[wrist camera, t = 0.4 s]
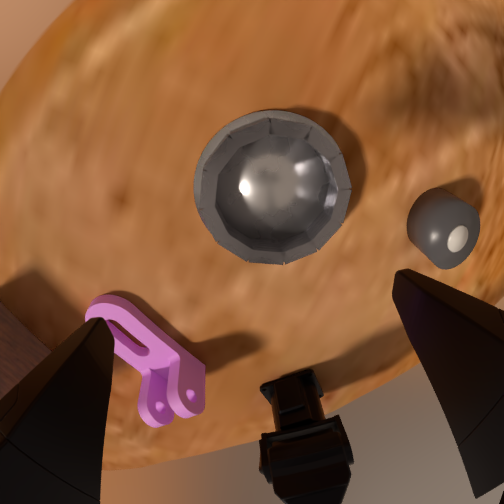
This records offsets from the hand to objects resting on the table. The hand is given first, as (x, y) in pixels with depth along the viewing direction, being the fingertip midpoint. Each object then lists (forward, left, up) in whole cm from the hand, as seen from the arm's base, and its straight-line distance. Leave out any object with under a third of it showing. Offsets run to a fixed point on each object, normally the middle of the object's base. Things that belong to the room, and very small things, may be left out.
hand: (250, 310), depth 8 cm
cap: (-10, -15, -14) cm, 23 cm away
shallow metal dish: (-2, -2, -14) cm, 14 cm away
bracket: (-11, +15, -14) cm, 23 cm away
